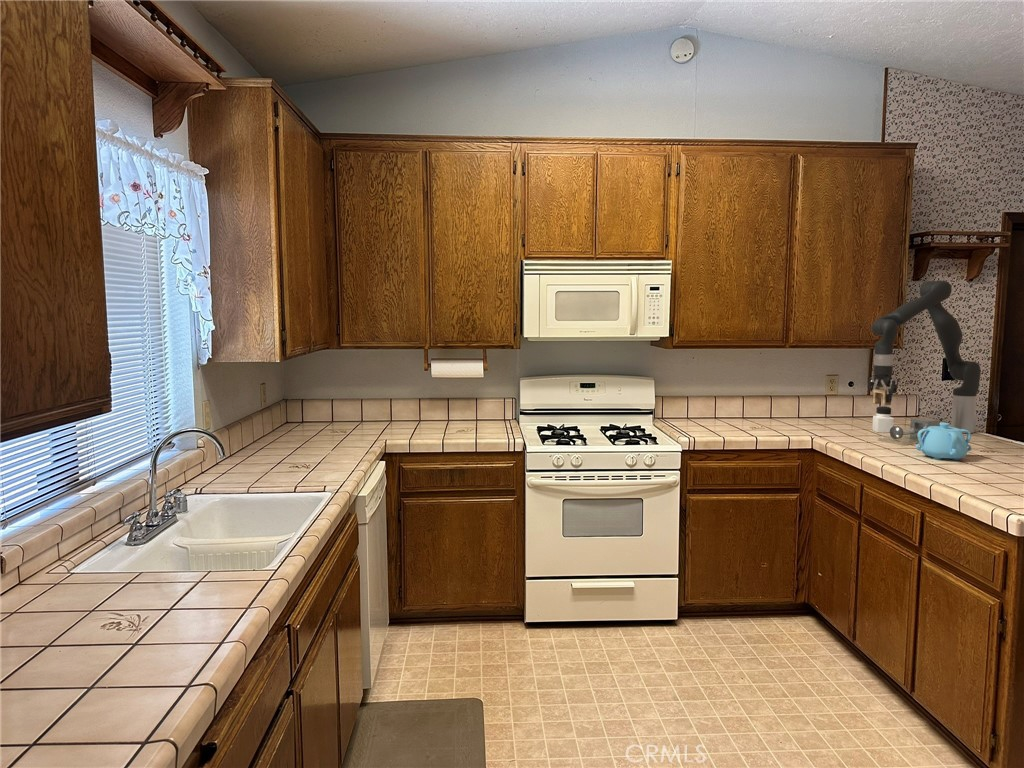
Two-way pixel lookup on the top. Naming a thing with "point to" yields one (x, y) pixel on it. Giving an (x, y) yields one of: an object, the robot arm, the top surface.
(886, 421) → the medicine bottle
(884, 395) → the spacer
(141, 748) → the top surface
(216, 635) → the top surface
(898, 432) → the shaft
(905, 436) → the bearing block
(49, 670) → the top surface
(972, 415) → the robot arm
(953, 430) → the decorative pot
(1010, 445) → the top surface
